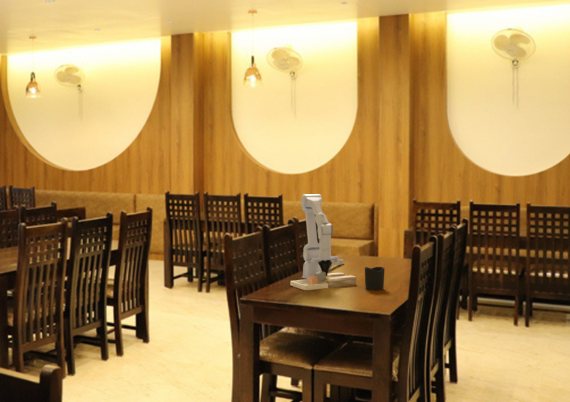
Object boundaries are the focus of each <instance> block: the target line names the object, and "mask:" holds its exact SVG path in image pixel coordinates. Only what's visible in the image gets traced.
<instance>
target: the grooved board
mask: <svg viewBox="0 0 570 402" xmlns="http://www.w3.org/2000/svg"><path fill="white" fill-rule="evenodd" d="M314 276H315V275H314ZM322 282H326V283H328V288H329V289H330V288H331V289H332V288H340V287H347V286H348V287H349V286H357V276H354V275H346V274H345V273H344V272H333V273H328V274H327V276H326V278H325V280H322ZM328 288H327V289H328Z"/></svg>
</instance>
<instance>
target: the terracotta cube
mask: <svg viewBox="0 0 570 402" xmlns="http://www.w3.org/2000/svg"><path fill="white" fill-rule="evenodd" d="M314 284H319V283H318V277H317V276H309V277H308V285H314Z"/></svg>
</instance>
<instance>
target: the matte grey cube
mask: <svg viewBox="0 0 570 402" xmlns="http://www.w3.org/2000/svg"><path fill="white" fill-rule="evenodd" d="M314 275H315V276H317V277H318V281H322V280H325V278H326V273H325V272H322V270H320V272H315V273H314Z"/></svg>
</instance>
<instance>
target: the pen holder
mask: <svg viewBox="0 0 570 402" xmlns="http://www.w3.org/2000/svg"><path fill="white" fill-rule="evenodd" d="M384 284H385V267H383V266H375V267H368V266H367V267H364V287H365V290H369V291H382V290H384V287H385V286H384Z"/></svg>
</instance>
